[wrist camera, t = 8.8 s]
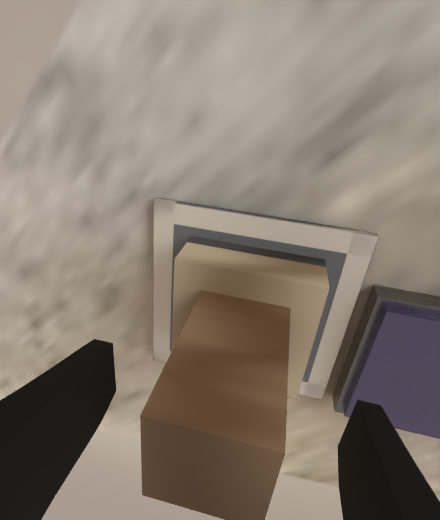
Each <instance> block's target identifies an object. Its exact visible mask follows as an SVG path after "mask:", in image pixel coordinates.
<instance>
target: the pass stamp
mask: <svg viewBox="0 0 440 520" xmlns="http://www.w3.org/2000/svg"><path fill="white" fill-rule="evenodd" d="M328 292H329V281H328V275H327V268H326V262H325V259H319V258H313V257H308V256H302V255H296V254H291V253H285V252H280V251H274V250H268V249H263V248H257V247H251V246H246V245H240V244H234V243H229V242H223V241H217V240H212V239H206V238H200V237H195V236H191V237H190V239H189V240H188V242H187V243H186V244H185V246H184V247H183V248H182V250H181V251H180V252H179V254H178V255H177V256H176V258H175V260H174V287H173V314H172V342H171V354H170V356H169V358H168V360H167V362H166V364H165V366H164V368H163V370H162V372H161V375H160V377H159V379H158V381H157V383H156V385H155V387H154V389H153V391H152V393H151V395H150V397H149V399H148V401H147V403H146V405H145V407H144V409H143V411H142V413H141V415H140V417H141V459H142V495H144V496H148V497H151V498H154V499H158V500H161V501H164V502H168V503H171V504H175V505H178V506H182V507H185V508H188V509H191V510H195V511H198V512H202V513H205V514H208V515H212V516H215V517H218V518H222V519H225V520H265V517H266V513H267V510H268V507H269V504H270V500H271V497H272V494H273V490H274V487H275V484H276V481H277V477H278V474H279V471H280V468H281V464H282V461H283V458H284V455H285V439H286V414H287V397H289V398H293V399H297V396H298V393H299V390H300V386H301V383H302V380H303V376H304V373H305V369H306V366H307V363H308V359H309V356H310V353H311V349H312V346H313V342H314V339H315V336H316V332H317V329H318V326H319V322H320V319H321V315H322V312H323V309H324V305H325V302H326V299H327V295H328Z"/></svg>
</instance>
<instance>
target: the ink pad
mask: <svg viewBox="0 0 440 520" xmlns="http://www.w3.org/2000/svg"><path fill="white" fill-rule="evenodd" d="M357 400H361V401H365V402H369V403H374V404H378V405H381V406H382V408H383V409H384V411H385V413H386V414H387V416H388V418H389V419H390V421H391V423H392V425H393V426H394V428H397V429H401V430H405V431H409V432H413V433H418V434H422V435H426V436H430V437H434V438H439V439H440V297H437V296H431V295H426V294H420V293H415V292H409V291H404V290H398V289H393V288H387V287H382V286H376V285H373V288H372V291H371V293H370V296H369V299H368V302H367V304H366V307H365V310H364V312H363V315H362V318H361V321H360V323H359V326H358V329H357V332H356V334H355V337H354V340H353V343H352V345H351V348H350V351H349V354H348V356H347V359H346V362H345V364H344V367H343V370H342V373H341V375H340V378H339V381H338V384H337V386H336V389H335V392H334V395H333V403H334V411H336V412H340V413H344V416H346V417H350V416H351V414H352V411H353V409H354V407H355V404H356V402H357Z"/></svg>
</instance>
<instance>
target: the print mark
mask: <svg viewBox="0 0 440 520" xmlns="http://www.w3.org/2000/svg"><path fill="white" fill-rule="evenodd" d="M191 236H195V237H200V238H206V239H212V240H217V241H223V242H229V243H234V244H240V245H246V246H251V247H257V248H263V249H268V250H274V251H280V252H285V253H291V254H296V255H302V256H308V257H313V258H319V259H325V262H326V268H327V275H328V281H329V292H328V295H327V299H326V302H325V305H324V309H323V312H322V315H321V319H320V322H319V326H318V329H317V332H316V336H315V339H314V342H313V346H312V349H311V353H310V356H309V359H308V363H307V366H306V369H305V373H304V376H303V380H302V383H301V386H300V390H299V393H298V394H301V395H305V396H309V397H314V398H318V399H322V398H323V395H324V392H325V390H326V387H327V384H328V381H329V378H330V375H331V372H332V369H333V366H334V363H335V361H336V358H337V355H338V352H339V349H340V346H341V343H342V340H343V337H344V335H345V332H346V329H347V326H348V323H349V320H350V317H351V314H352V311H353V309H354V306H355V303H356V300H357V297H358V294H359V291H360V288H361V285H362V283H363V280H364V277H365V274H366V271H367V268H368V265H369V262H370V259H371V256H372V254H373V251H374V248H375V245H376V242H377V239H378V235H377V234H376V233H371V232H365V231H359V230H353V229H347V228H340V227H334V226H328V225H322V224H316V223H309V222H303V221H297V220H291V219H285V218H278V217H272V216H266V215H260V214H254V213H247V212H241V211H235V210H229V209H223V208H216V207H210V206H204V205H198V204H192V203H185V202H179V201H173V200H167V199H161V198H156V199H155V200H154V295H153V360H155V361H160V362H164V363H166V362H167V360H168V358H169V356H170V354H171V342H172V314H173V287H174V260H175V258H176V256H177V255H178V254H179V252H180V251H181V250H182V248H183V247H184V246H185V244H186V243H187V242H188V240H189V239H190V237H191Z"/></svg>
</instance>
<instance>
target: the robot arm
mask: <svg viewBox="0 0 440 520" xmlns="http://www.w3.org/2000/svg"><path fill="white" fill-rule="evenodd" d="M115 392H116V382H115V368H114V354H113V343H109V342H105V341H100V340H96V339H94V340H92V341H91V342H89V343H88V344H86V345H85V346H83V347H82V348H80V349H79V350H77V351H76V352H74V353H73V354H71V355H70V356H68V357H67V358H65V359H64V360H62V361H61V362H59V363H58V364H56V365H55V366H53V367H52V368H51V369H49V370H48V371H46V372H44V373H43V374H41V375H40V376H38V377H37V378H35V379H34V380H32V381H31V382H29V383H28V384H26V385H25V386H23V387H21V388H20V389H18V390H17V391H15V392H13V393H12V394H10V395H9V396H7V397H5V398H4V399H2V400H0V520H41V519H42V517H43V515H44V514H45V512H46V510H47V508H48V507H49V505H50V504H51V502H52V500H53V498H54V497H55V495H56V494H57V492H58V490H59V489H60V487H61V486H62V484H63V482H64V481H65V479H66V478H67V476H68V475H69V473H70V471H71V470H72V468H73V467H74V465H75V463H76V462H77V460H78V459H79V457H80V455H81V454H82V452H83V451H84V449H85V448H86V446H87V444H88V443H89V441H90V439H91V438H92V436H93V435H94V433H95V431H96V430H97V428H98V426H99V425H100V423H101V421H102V419H103V417H104V415H105V413H106V411H107V409H108V407H109V405H110V403H111V401H112V398H113V396H114V394H115ZM338 473H339V491H340V499H341V506H342V513H343V520H440V501H439V500H438V498H437V497H436V495H435V494H434V492H433V490H432V489H431V487H430V486H429V484H428V483H427V481H426V479H425V478H424V476H423V475H422V473H421V471H420V470H419V468H418V467H417V465H416V463H415V462H414V460H413V458H412V457H411V455H410V453H409V452H408V450H407V448H406V447H405V445H404V443H403V442H402V440H401V438H400V437H399V435H398V433H397V431H396V430H395V428H394V426H393V425H392V423H391V421H390V419H389V418H388V416H387V414H386V413H385V411H384V409H383V408H382V406H381V405H378V404H374V403H369V402H365V401H361V400H357V402H356V404H355V407H354V409H353V411H352V414H351V416H350V419H349V421H348V423H347V426H346V428H345V431H344V433H343V435H342V438H341V440H340V443H339V445H338Z"/></svg>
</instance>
